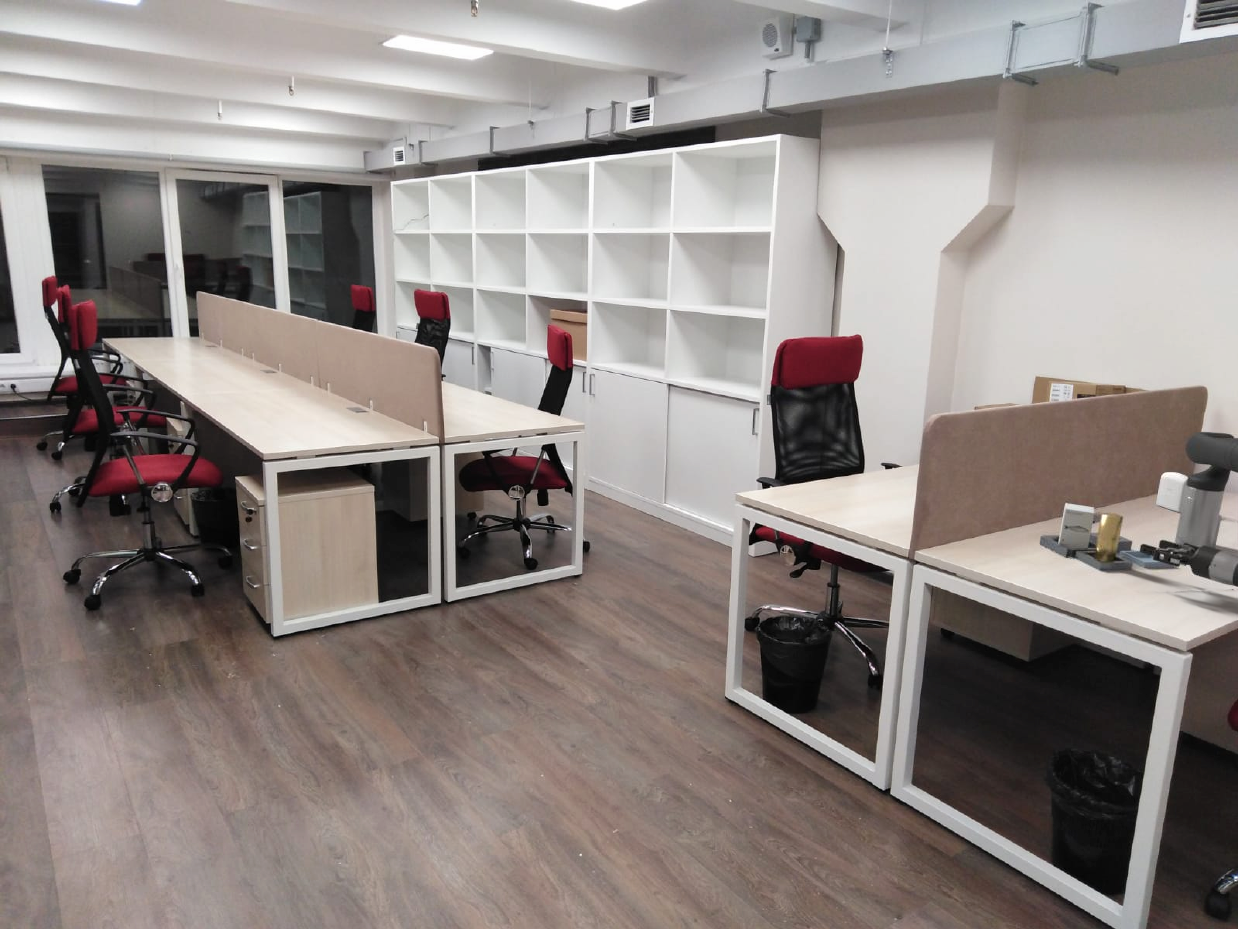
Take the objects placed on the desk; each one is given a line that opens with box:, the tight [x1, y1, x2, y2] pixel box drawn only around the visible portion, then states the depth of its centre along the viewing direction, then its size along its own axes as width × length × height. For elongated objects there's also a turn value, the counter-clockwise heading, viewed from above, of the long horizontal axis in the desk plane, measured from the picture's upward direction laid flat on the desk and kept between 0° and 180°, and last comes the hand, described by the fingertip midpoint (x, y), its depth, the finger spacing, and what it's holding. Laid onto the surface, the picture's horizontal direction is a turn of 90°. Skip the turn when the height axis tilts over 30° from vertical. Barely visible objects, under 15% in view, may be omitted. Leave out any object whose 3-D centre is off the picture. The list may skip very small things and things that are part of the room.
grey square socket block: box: [1089, 532, 1133, 553], centre depth 245 cm, size 8×8×4 cm
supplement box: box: [1058, 502, 1095, 548], centre depth 240 cm, size 7×7×13 cm
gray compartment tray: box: [1039, 534, 1134, 572], centre depth 237 cm, size 12×23×2 cm, turn 10°
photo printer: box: [1155, 471, 1189, 513], centre depth 290 cm, size 10×4×12 cm, turn 13°
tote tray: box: [1118, 550, 1175, 569], centre depth 234 cm, size 9×9×2 cm
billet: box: [1094, 512, 1124, 561], centre depth 229 cm, size 5×5×14 cm
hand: (1150, 545), depth 219 cm, fingers open, 8 cm apart
